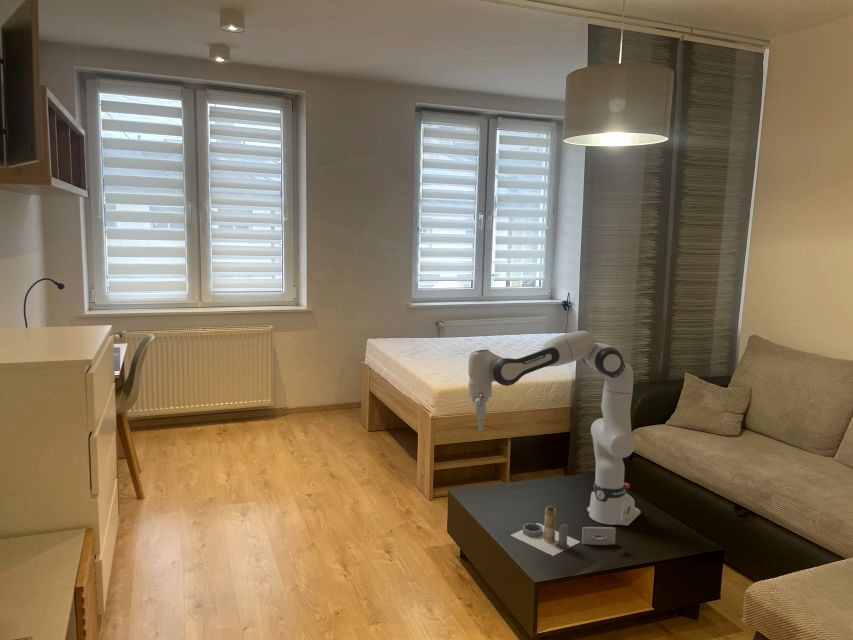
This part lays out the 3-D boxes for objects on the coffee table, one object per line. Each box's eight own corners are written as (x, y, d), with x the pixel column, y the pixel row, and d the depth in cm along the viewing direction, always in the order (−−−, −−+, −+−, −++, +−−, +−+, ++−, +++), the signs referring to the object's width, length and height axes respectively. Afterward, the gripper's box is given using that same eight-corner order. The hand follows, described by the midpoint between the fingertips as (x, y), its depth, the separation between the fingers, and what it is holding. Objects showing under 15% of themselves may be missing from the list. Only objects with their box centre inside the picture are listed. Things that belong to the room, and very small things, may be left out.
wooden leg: (548, 536, 241) (549, 503, 239) (557, 540, 238) (558, 507, 236) (541, 540, 238) (542, 506, 236) (550, 544, 235) (551, 510, 233)
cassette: (582, 548, 235) (583, 528, 234) (581, 546, 237) (582, 526, 236) (615, 548, 235) (616, 529, 234) (613, 546, 237) (614, 526, 236)
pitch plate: (537, 526, 252) (538, 503, 251) (581, 546, 237) (582, 521, 236) (510, 538, 242) (510, 514, 241) (554, 560, 227) (555, 534, 225)
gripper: (489, 394, 236) (489, 432, 235) (487, 390, 256) (488, 425, 255) (471, 394, 236) (472, 432, 235) (471, 390, 256) (472, 425, 256)
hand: (480, 428), depth 246 cm, fingers open, 8 cm apart
